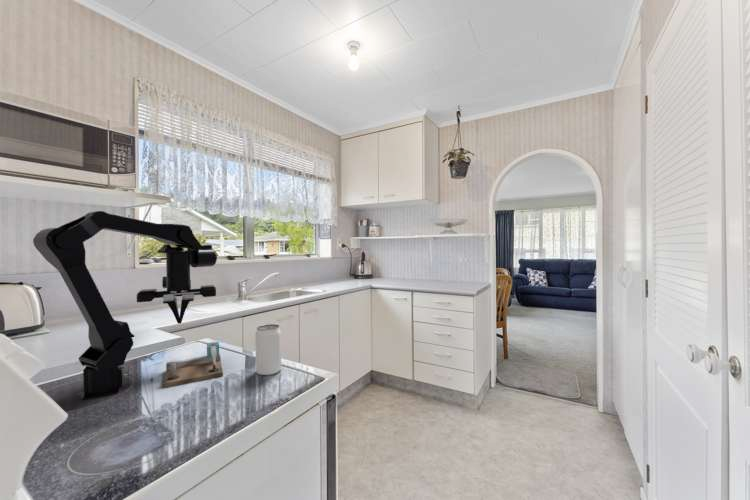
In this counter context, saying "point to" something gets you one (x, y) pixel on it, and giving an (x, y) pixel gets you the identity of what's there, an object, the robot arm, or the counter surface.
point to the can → (268, 349)
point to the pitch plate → (191, 370)
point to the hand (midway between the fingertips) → (179, 323)
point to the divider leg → (213, 352)
